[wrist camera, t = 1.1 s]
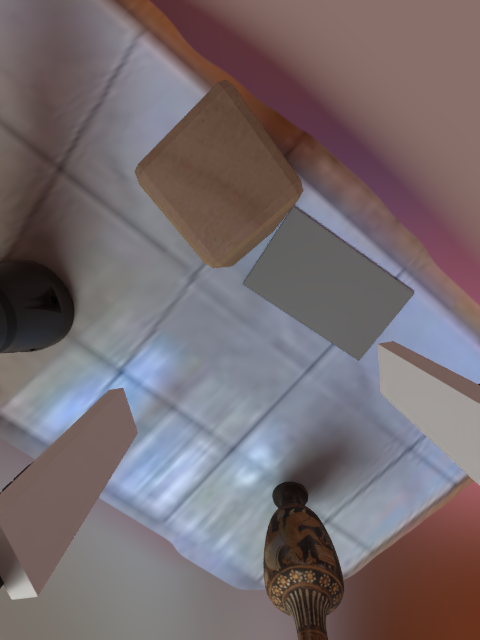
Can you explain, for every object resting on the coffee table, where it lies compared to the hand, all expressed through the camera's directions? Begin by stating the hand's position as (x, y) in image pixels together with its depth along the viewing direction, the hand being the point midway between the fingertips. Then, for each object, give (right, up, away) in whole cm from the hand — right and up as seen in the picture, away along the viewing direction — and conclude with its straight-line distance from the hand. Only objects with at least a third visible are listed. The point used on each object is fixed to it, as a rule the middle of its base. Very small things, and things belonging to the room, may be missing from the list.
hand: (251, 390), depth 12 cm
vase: (+9, -33, +37) cm, 50 cm away
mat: (+14, +9, +27) cm, 32 cm away
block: (-2, +19, +25) cm, 32 cm away
